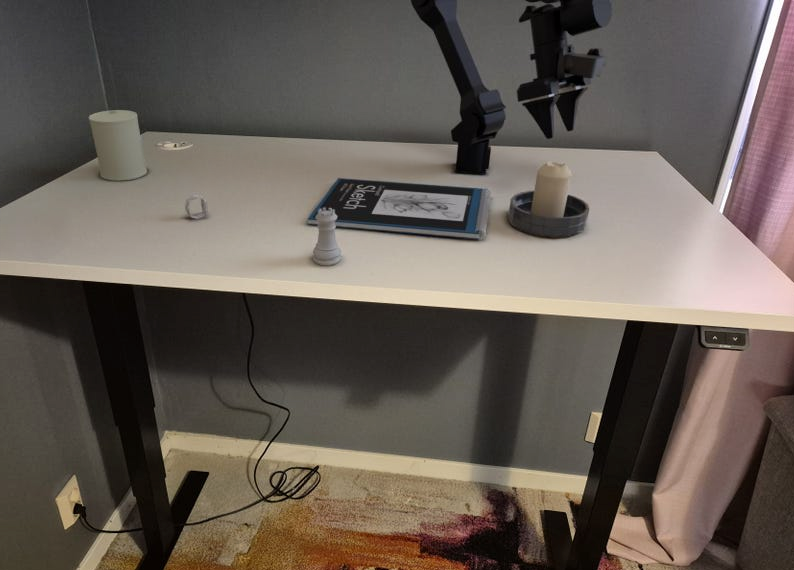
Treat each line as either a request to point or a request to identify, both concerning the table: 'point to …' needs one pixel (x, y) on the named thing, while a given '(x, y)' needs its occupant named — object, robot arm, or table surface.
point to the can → (118, 144)
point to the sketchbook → (407, 208)
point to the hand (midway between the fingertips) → (560, 134)
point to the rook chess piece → (326, 239)
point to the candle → (551, 190)
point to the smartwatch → (203, 204)
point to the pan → (543, 225)
